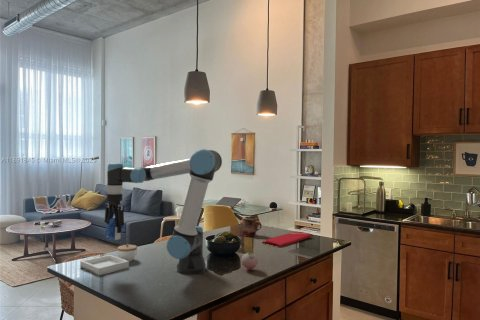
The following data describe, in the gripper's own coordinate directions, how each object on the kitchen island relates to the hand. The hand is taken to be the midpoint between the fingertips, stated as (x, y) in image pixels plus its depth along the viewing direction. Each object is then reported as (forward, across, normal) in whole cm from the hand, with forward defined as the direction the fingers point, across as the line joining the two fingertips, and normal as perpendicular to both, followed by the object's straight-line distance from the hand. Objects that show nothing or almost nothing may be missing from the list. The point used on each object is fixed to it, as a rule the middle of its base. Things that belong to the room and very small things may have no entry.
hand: (113, 237), depth 184 cm
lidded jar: (+18, +12, -16) cm, 27 cm away
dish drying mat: (+17, -31, -120) cm, 125 cm away
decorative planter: (+17, -2, -115) cm, 116 cm away
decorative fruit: (+17, -51, -48) cm, 72 cm away
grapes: (+1, 0, 0) cm, 1 cm away
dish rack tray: (+18, +10, -1) cm, 20 cm away
